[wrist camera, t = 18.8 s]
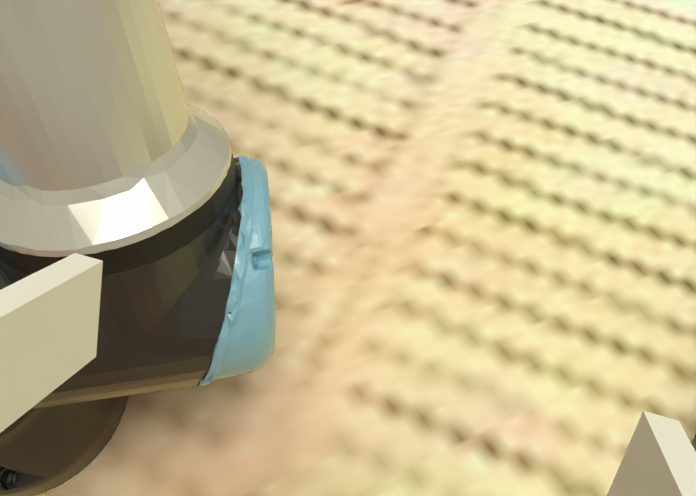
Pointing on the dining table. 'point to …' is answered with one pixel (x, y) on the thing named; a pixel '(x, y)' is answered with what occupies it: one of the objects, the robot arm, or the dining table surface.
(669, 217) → the dining table surface
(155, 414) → the dining table surface
